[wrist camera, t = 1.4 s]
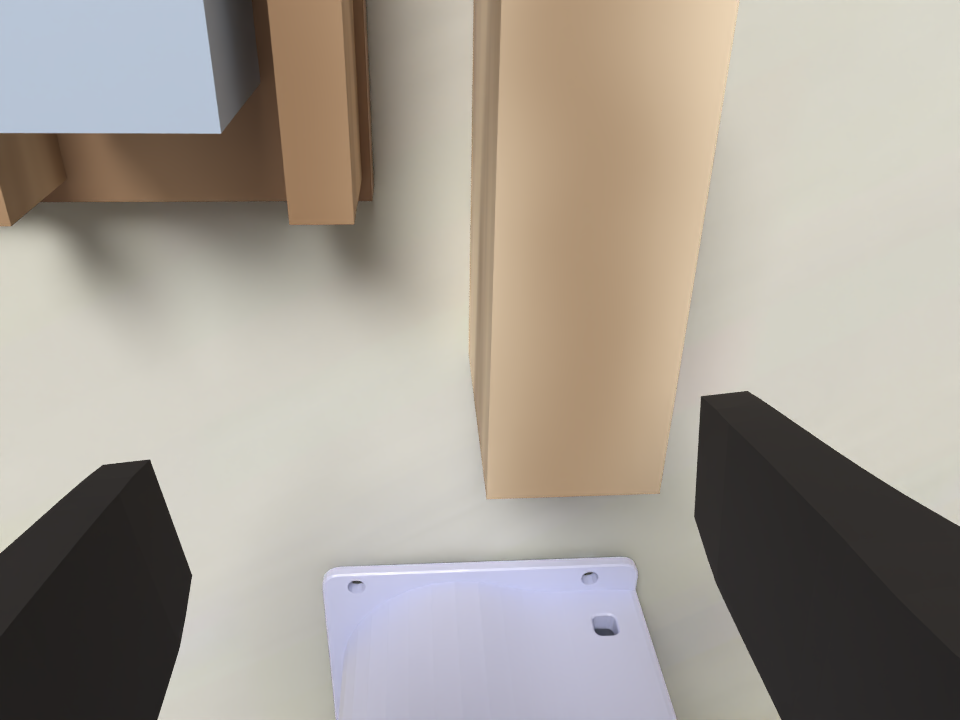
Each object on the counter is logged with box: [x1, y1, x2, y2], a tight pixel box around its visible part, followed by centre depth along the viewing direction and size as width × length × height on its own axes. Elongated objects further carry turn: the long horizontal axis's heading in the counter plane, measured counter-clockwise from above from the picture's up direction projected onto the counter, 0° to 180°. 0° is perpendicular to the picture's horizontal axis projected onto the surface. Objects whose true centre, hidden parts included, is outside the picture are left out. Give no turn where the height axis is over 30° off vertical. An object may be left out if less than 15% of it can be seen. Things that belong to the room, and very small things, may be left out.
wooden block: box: [469, 0, 739, 499], centre depth 17 cm, size 4×10×6 cm, turn 179°
